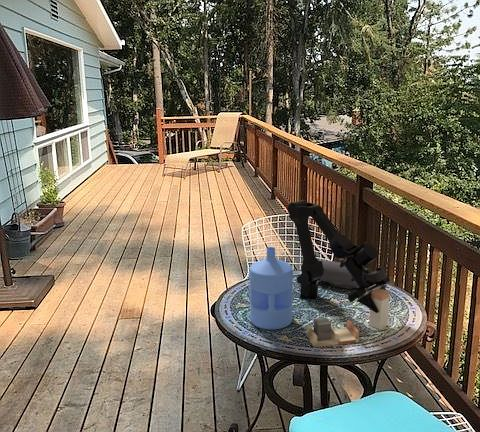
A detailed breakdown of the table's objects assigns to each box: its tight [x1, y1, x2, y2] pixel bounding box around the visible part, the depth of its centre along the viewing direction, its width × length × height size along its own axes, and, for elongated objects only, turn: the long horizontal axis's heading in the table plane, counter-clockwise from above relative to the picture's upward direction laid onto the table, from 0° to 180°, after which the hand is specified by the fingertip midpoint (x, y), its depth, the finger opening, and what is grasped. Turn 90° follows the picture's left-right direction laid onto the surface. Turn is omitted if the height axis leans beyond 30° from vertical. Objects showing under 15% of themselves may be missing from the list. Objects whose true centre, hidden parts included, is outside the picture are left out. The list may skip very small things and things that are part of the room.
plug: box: [368, 288, 391, 331], centre depth 173 cm, size 4×4×13 cm
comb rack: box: [306, 316, 360, 348], centre depth 166 cm, size 8×16×7 cm, turn 101°
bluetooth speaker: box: [318, 259, 372, 290], centre depth 207 cm, size 23×9×10 cm, turn 58°
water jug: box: [248, 246, 294, 331], centre depth 177 cm, size 16×16×28 cm
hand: (382, 309), depth 172 cm, fingers open, 6 cm apart
